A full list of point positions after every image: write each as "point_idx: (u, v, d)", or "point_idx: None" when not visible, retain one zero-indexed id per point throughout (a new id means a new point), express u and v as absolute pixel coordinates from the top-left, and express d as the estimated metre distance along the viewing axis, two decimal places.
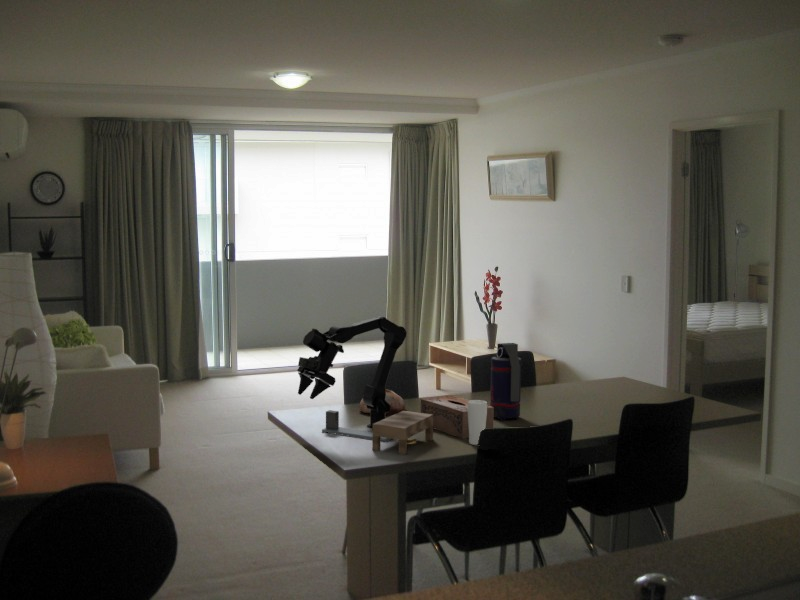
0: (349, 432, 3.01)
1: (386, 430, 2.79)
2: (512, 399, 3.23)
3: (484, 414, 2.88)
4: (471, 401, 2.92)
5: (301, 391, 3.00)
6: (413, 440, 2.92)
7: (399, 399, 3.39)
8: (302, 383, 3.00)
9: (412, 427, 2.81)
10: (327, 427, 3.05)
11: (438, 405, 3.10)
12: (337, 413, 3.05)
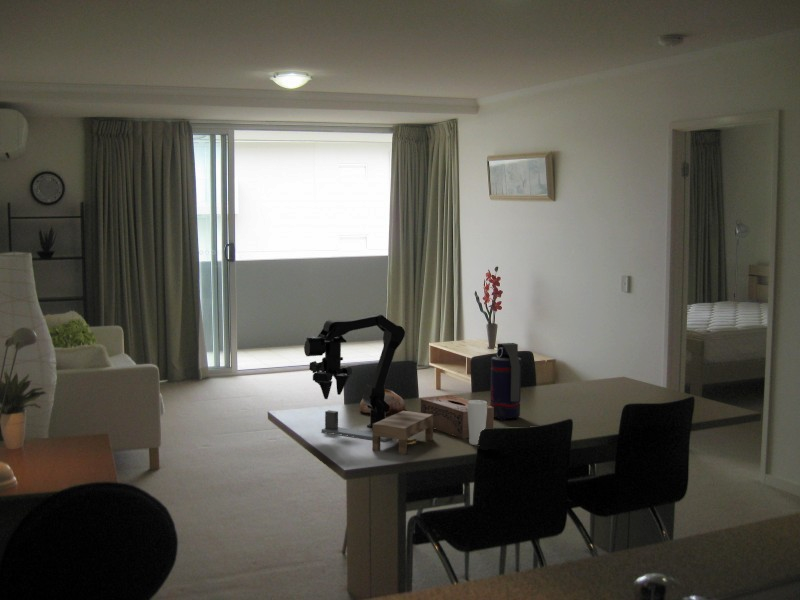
0: (348, 432, 3.01)
1: (386, 430, 2.79)
2: (512, 399, 3.23)
3: (484, 414, 2.88)
4: (471, 401, 2.92)
5: (339, 391, 3.09)
6: (413, 440, 2.92)
7: (399, 399, 3.39)
8: (337, 383, 3.09)
9: (412, 427, 2.81)
10: (326, 427, 3.05)
11: (438, 405, 3.10)
12: (336, 413, 3.05)
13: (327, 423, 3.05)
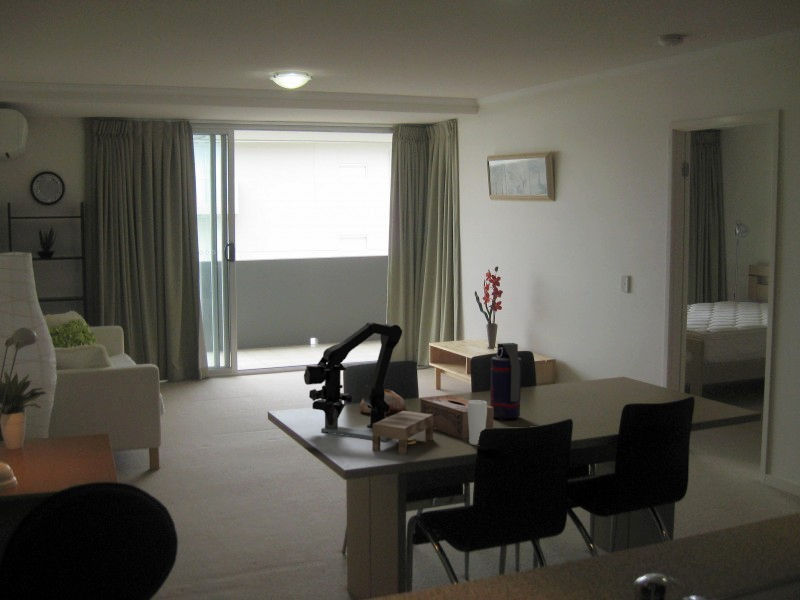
0: (348, 431, 3.01)
1: (386, 430, 2.79)
2: (512, 399, 3.23)
3: (484, 414, 2.88)
4: (471, 401, 2.92)
5: None
6: (413, 440, 2.92)
7: (399, 399, 3.39)
8: None
9: (412, 427, 2.81)
10: (326, 426, 3.06)
11: (438, 405, 3.10)
12: (336, 412, 3.05)
13: (327, 422, 3.05)
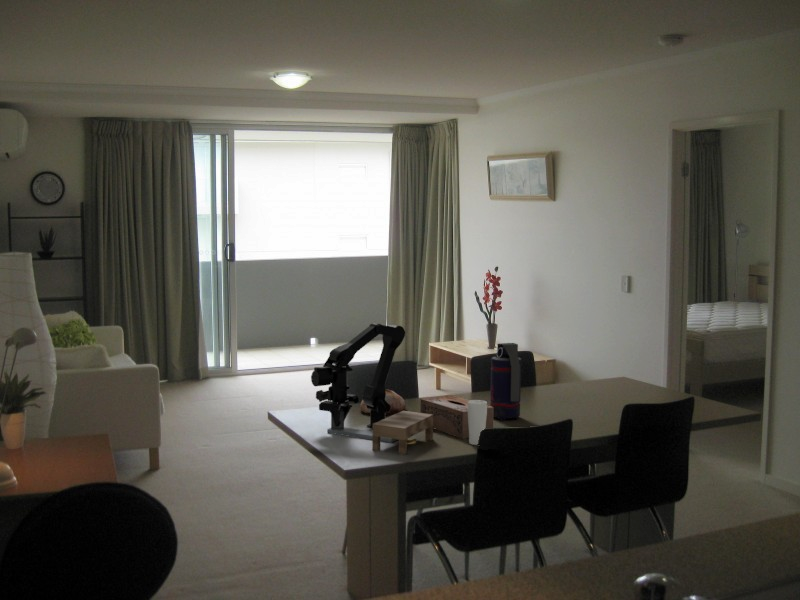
0: (354, 432, 3.00)
1: (386, 430, 2.79)
2: (512, 399, 3.23)
3: (484, 414, 2.88)
4: (471, 401, 2.92)
5: None
6: (413, 440, 2.92)
7: (400, 399, 3.39)
8: None
9: (412, 427, 2.81)
10: (332, 427, 3.05)
11: (438, 405, 3.10)
12: (342, 413, 3.04)
13: (333, 423, 3.04)
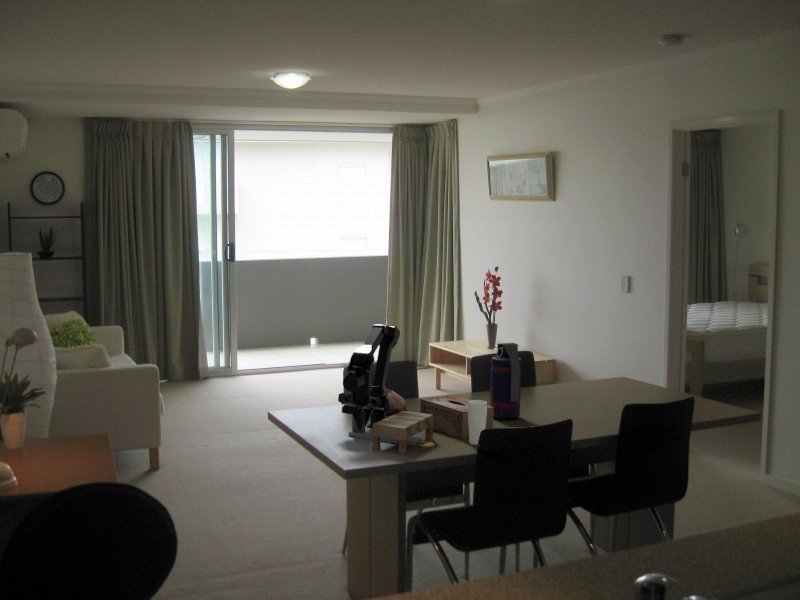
0: None
1: (386, 430, 2.79)
2: (512, 399, 3.23)
3: (484, 414, 2.88)
4: (471, 401, 2.92)
5: None
6: (431, 442, 2.88)
7: (400, 399, 3.39)
8: None
9: (412, 427, 2.81)
10: (354, 430, 3.01)
11: (438, 405, 3.10)
12: None
13: (354, 426, 3.00)
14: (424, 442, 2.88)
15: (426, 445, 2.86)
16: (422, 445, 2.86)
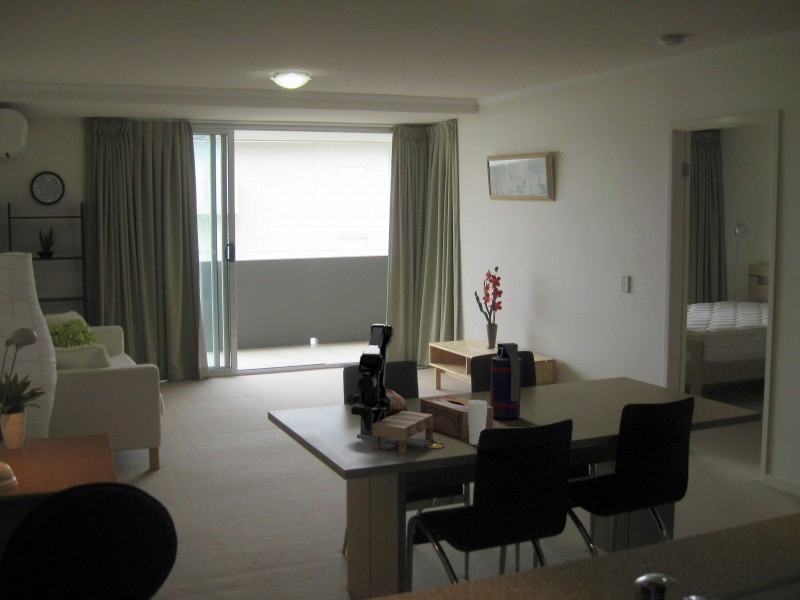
0: None
1: (386, 430, 2.79)
2: (512, 399, 3.23)
3: (484, 414, 2.88)
4: (471, 401, 2.92)
5: None
6: (440, 444, 2.87)
7: (400, 399, 3.39)
8: None
9: (412, 427, 2.81)
10: (362, 432, 2.99)
11: (438, 405, 3.10)
12: None
13: (362, 428, 2.99)
14: (433, 444, 2.87)
15: (435, 447, 2.85)
16: (431, 447, 2.85)
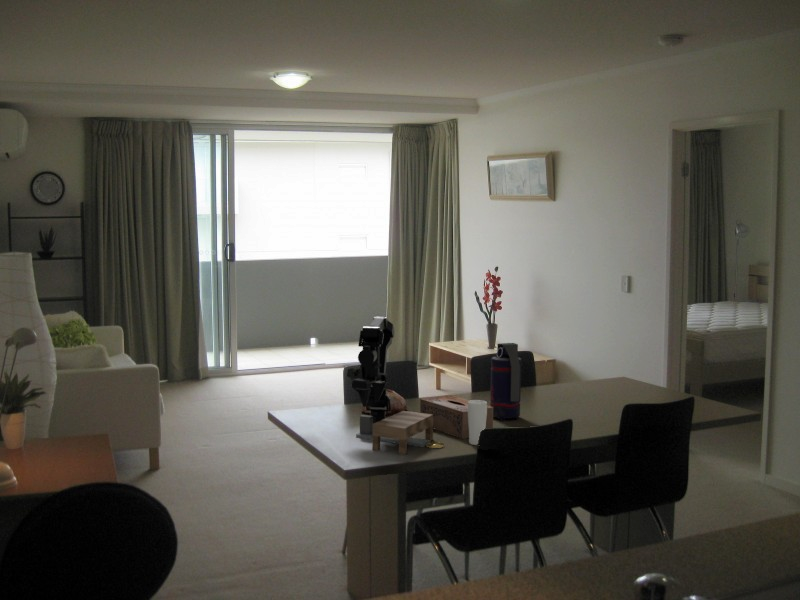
0: (384, 437, 2.94)
1: (386, 430, 2.79)
2: (512, 399, 3.23)
3: (484, 414, 2.88)
4: (471, 401, 2.92)
5: (377, 398, 3.02)
6: (440, 444, 2.87)
7: (401, 399, 3.39)
8: (375, 390, 3.02)
9: (412, 427, 2.81)
10: (361, 432, 2.99)
11: (438, 405, 3.10)
12: (371, 418, 2.99)
13: (362, 428, 2.99)
14: (433, 444, 2.87)
15: (435, 447, 2.85)
16: (431, 447, 2.85)
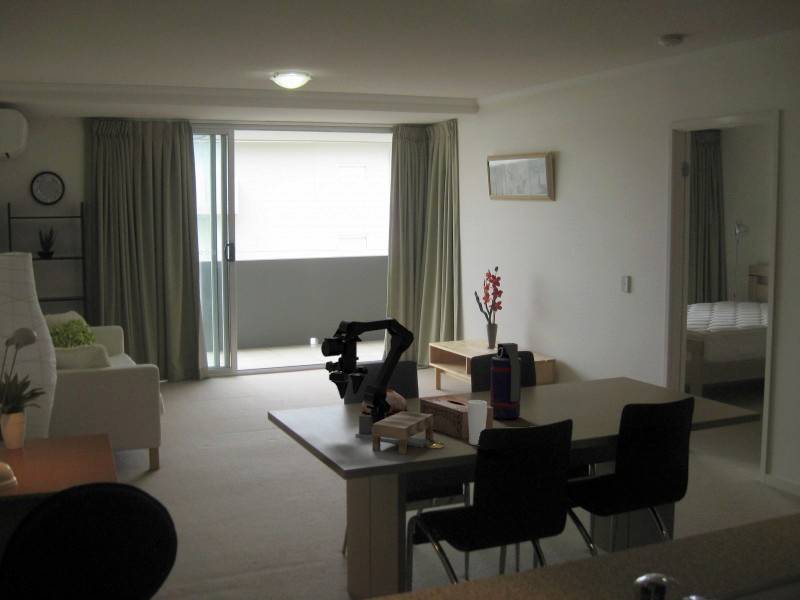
0: (383, 437, 2.94)
1: (386, 430, 2.79)
2: (512, 399, 3.23)
3: (484, 414, 2.88)
4: (471, 401, 2.92)
5: (355, 391, 3.09)
6: (441, 444, 2.87)
7: (401, 399, 3.39)
8: (353, 383, 3.10)
9: (412, 427, 2.81)
10: (360, 432, 2.99)
11: (438, 405, 3.10)
12: (371, 417, 2.99)
13: (361, 428, 2.99)
14: (433, 444, 2.87)
15: (435, 447, 2.85)
16: (431, 447, 2.85)
